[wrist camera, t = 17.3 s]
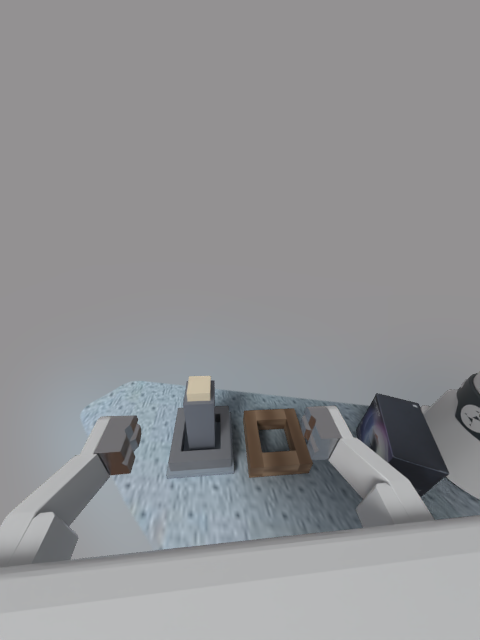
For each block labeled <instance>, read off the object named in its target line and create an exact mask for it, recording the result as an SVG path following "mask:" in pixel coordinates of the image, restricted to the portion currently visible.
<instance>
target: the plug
mask: <svg viewBox="0 0 480 640" xmlns="http://www.w3.org/2000/svg"><path fill="white" fill-rule="evenodd" d="M183 408H184V415H185V422H186V429H187V436H188V443H189V451H196V450H211V449H215V389H214V381H211V376H193V377H189V381H187V384H186V390H185V396H184V403H183Z"/></svg>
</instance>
